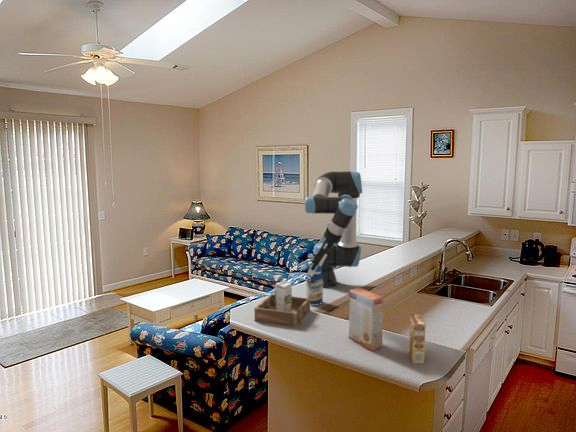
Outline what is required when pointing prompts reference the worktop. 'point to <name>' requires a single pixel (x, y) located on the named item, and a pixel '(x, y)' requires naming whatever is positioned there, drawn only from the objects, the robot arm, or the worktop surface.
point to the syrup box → (283, 296)
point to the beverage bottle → (315, 286)
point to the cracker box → (366, 318)
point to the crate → (270, 315)
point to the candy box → (417, 339)
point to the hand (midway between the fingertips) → (314, 269)
